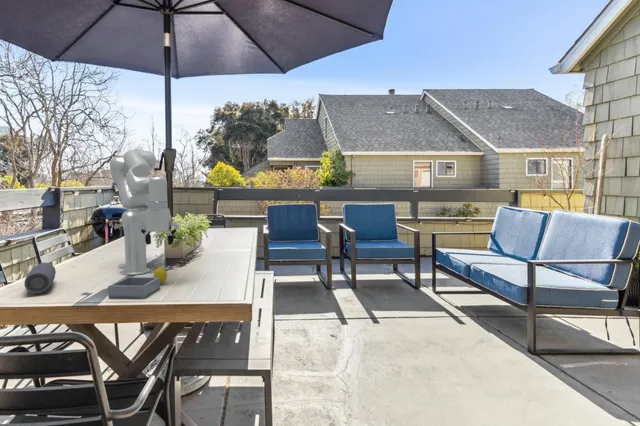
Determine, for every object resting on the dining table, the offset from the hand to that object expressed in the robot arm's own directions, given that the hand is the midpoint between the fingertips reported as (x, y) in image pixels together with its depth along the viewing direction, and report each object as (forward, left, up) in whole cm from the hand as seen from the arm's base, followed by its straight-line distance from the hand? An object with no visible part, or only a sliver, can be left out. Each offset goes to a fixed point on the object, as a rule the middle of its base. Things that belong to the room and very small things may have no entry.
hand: (159, 244), depth 166 cm
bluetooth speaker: (-47, -9, -18) cm, 51 cm away
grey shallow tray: (-4, -14, -18) cm, 23 cm away
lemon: (0, 0, -18) cm, 18 cm away
